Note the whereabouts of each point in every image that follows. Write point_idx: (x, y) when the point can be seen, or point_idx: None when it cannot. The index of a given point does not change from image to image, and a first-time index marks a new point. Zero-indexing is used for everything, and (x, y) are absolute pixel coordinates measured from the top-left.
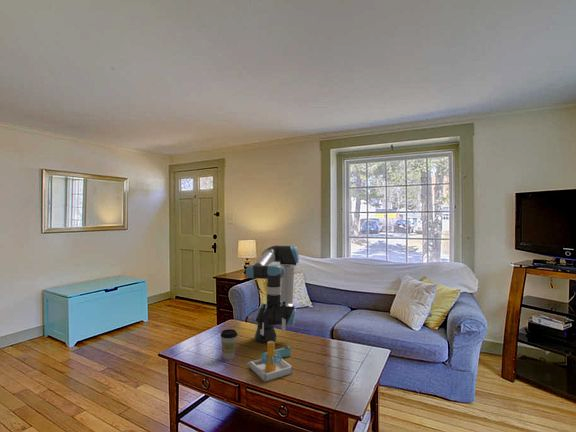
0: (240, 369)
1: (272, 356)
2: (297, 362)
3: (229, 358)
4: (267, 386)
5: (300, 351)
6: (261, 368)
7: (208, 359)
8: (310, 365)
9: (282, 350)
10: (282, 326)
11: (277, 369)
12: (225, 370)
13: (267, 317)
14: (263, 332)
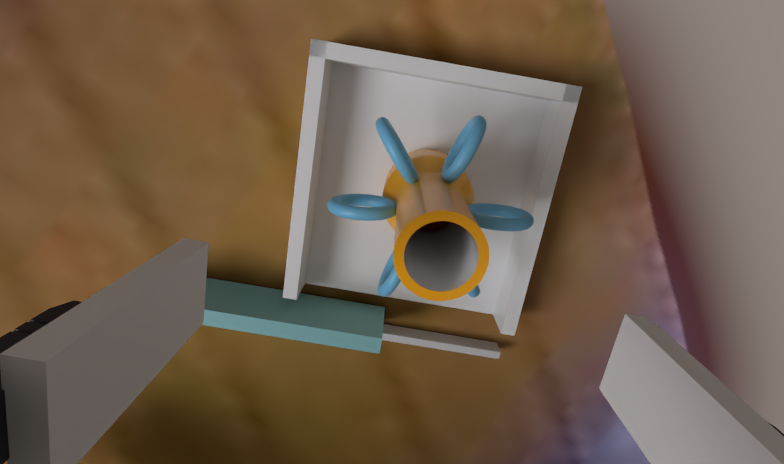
0: (567, 331)
1: (441, 182)
2: (178, 156)
3: None
4: (592, 23)
5: (49, 274)
6: None
7: None
8: (119, 49)
9: (210, 304)
10: (175, 330)
11: (379, 162)
12: None
13: None
14: (658, 339)
